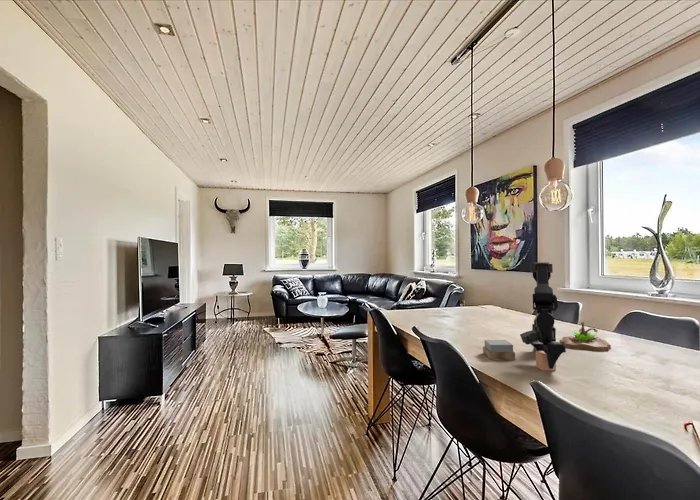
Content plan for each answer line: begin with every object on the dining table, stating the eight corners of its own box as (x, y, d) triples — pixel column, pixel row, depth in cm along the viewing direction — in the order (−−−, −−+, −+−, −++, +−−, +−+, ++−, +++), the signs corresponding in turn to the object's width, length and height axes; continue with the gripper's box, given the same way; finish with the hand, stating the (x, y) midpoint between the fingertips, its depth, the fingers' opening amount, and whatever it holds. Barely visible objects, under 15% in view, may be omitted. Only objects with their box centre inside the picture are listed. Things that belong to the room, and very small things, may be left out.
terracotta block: (549, 366, 137) (548, 350, 137) (555, 370, 132) (555, 354, 132) (536, 366, 137) (535, 350, 137) (542, 370, 132) (541, 354, 132)
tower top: (505, 346, 155) (505, 339, 155) (513, 352, 146) (512, 345, 146) (484, 346, 156) (484, 339, 156) (490, 352, 147) (490, 344, 147)
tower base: (506, 354, 156) (506, 346, 156) (515, 360, 146) (514, 352, 146) (483, 354, 156) (482, 346, 157) (490, 360, 147) (489, 352, 147)
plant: (608, 344, 170) (607, 320, 171) (612, 353, 154) (611, 327, 154) (560, 339, 181) (559, 317, 181) (559, 348, 165) (558, 324, 165)
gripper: (513, 319, 145) (514, 358, 144) (533, 328, 126) (534, 373, 126) (541, 319, 144) (542, 358, 143) (565, 328, 125) (567, 373, 125)
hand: (545, 365), depth 134 cm, fingers open, 8 cm apart
